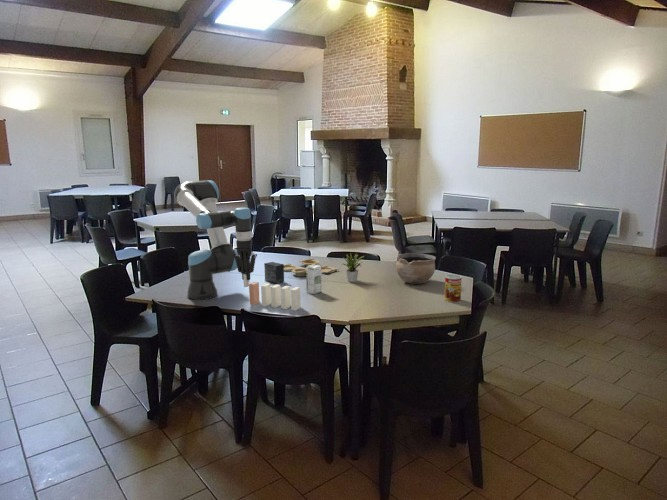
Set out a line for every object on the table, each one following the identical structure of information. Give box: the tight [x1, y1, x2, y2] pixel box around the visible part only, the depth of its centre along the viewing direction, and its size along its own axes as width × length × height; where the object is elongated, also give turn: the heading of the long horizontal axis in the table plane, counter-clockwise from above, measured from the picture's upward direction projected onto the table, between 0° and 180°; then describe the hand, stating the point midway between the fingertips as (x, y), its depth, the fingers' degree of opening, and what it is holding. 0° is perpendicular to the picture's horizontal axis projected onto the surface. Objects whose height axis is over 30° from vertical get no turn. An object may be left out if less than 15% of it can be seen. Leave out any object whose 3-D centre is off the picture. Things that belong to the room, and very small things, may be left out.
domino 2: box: [260, 282, 272, 307], centre depth 244 cm, size 2×5×10 cm, turn 155°
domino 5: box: [290, 286, 302, 311], centre depth 237 cm, size 2×5×10 cm, turn 155°
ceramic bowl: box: [395, 252, 437, 285], centre depth 278 cm, size 22×22×15 cm
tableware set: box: [284, 257, 339, 277], centre depth 310 cm, size 35×29×4 cm
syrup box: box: [305, 264, 322, 295], centre depth 262 cm, size 6×6×14 cm
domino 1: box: [248, 281, 260, 305], centre depth 246 cm, size 2×5×10 cm, turn 155°
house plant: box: [341, 252, 365, 283], centre depth 281 cm, size 14×14×16 cm
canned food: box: [444, 274, 462, 303], centre depth 246 cm, size 8×8×12 cm
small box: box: [263, 261, 285, 285], centre depth 285 cm, size 11×6×10 cm, turn 47°
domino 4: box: [280, 285, 291, 310], centre depth 239 cm, size 2×5×10 cm, turn 155°
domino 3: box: [270, 284, 282, 309], centre depth 241 cm, size 2×5×10 cm, turn 155°
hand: (246, 286), depth 247 cm, fingers closed
